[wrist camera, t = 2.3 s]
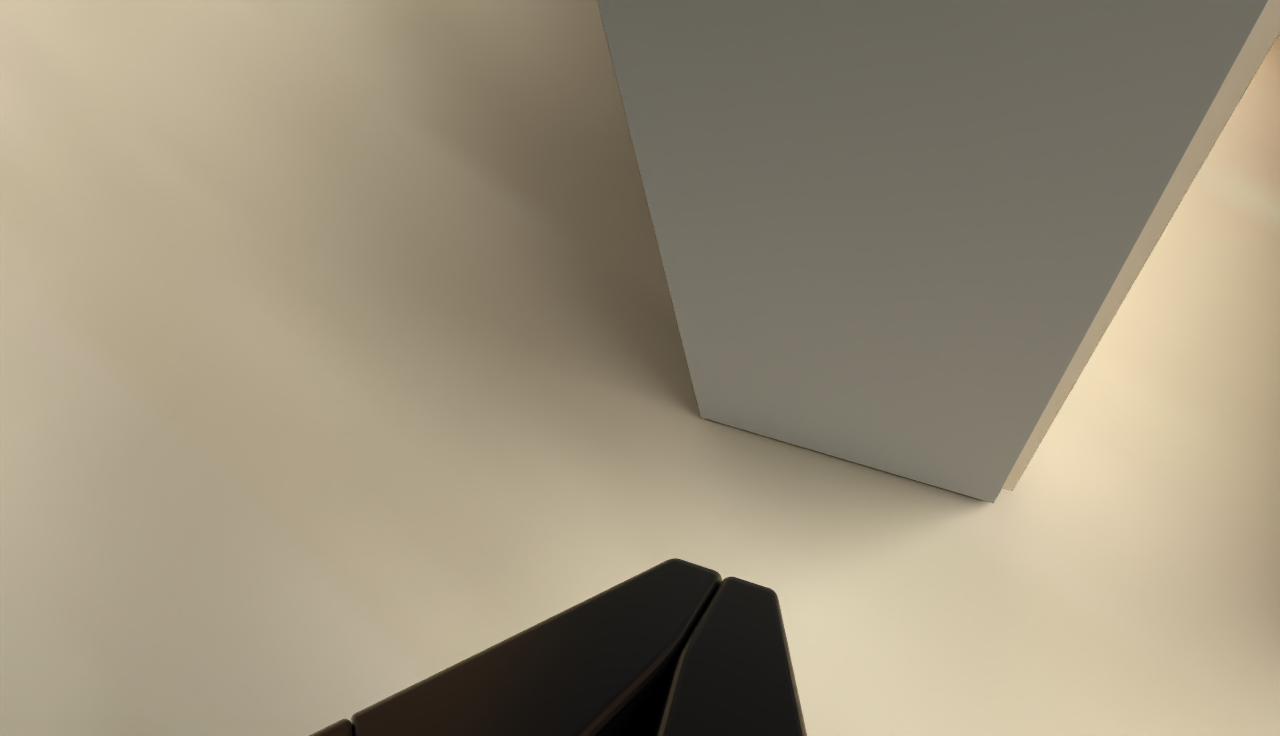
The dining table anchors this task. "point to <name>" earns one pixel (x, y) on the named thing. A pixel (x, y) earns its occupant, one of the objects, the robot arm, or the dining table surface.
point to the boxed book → (916, 203)
